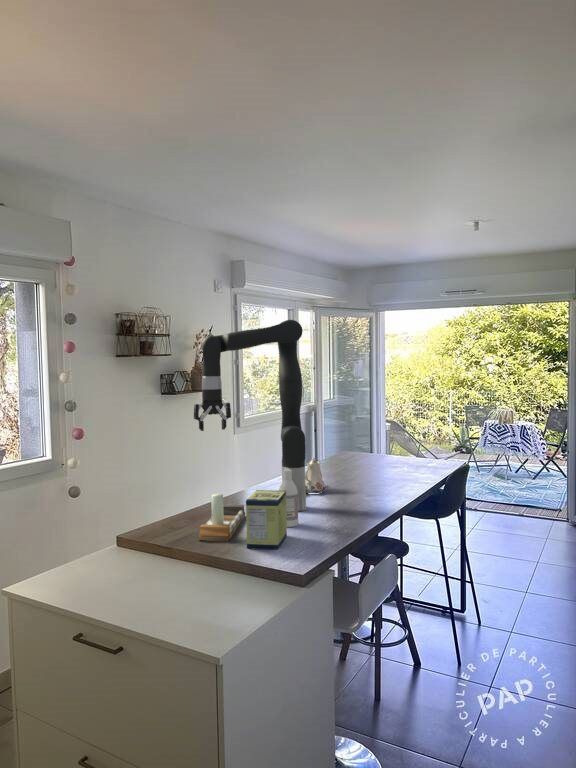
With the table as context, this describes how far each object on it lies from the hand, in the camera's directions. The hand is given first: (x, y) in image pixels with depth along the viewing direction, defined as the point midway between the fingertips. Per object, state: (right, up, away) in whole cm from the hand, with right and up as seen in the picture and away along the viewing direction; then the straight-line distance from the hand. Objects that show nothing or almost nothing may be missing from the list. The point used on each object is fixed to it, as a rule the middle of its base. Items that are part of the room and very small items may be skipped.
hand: (212, 430), depth 226 cm
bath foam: (+29, -33, -15) cm, 47 cm away
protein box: (+22, -34, -34) cm, 53 cm away
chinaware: (+38, -31, +39) cm, 63 cm away
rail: (+6, -34, -16) cm, 38 cm away
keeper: (+5, -32, -25) cm, 41 cm away
